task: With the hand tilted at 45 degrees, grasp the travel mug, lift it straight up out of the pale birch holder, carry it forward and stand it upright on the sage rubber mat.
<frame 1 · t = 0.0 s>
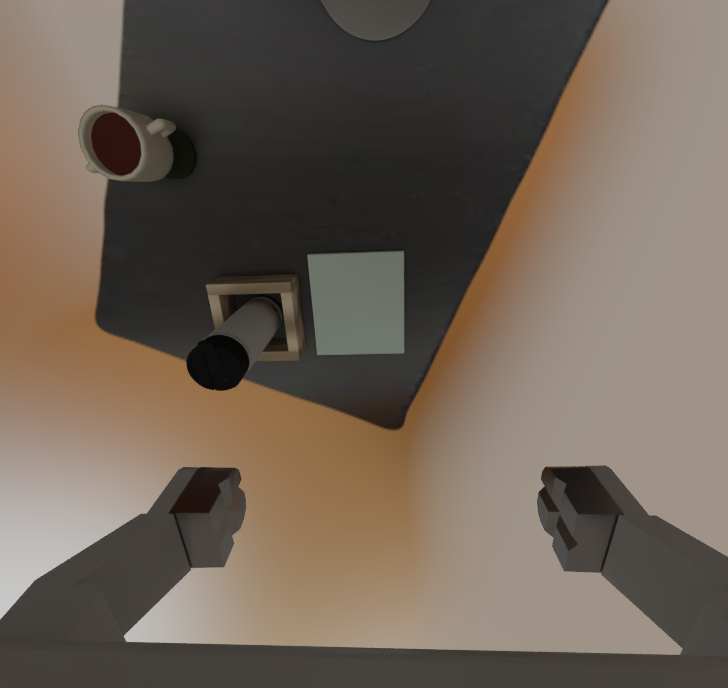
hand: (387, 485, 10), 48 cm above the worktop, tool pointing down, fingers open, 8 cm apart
character mug: (175, 153, 51), on the worktop
travel mug: (264, 312, 60), resting in birch holder
birch holder: (264, 313, 59), on the worktop
sage mat: (358, 304, 58), on the worktop
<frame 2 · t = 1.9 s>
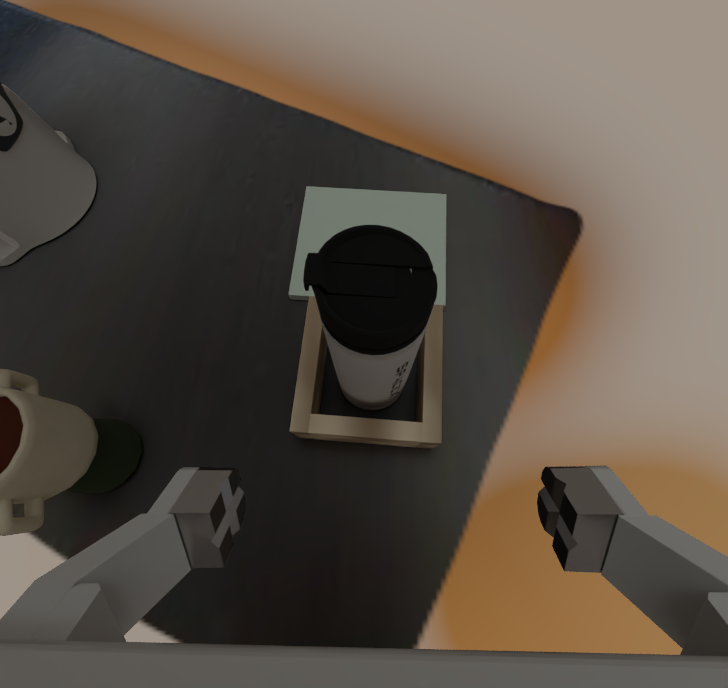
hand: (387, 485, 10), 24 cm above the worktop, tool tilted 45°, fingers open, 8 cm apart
character mug: (111, 456, 34), on the worktop
travel mug: (370, 380, 36), resting in birch holder
birch holder: (370, 379, 36), on the worktop
sage mat: (371, 247, 41), on the worktop
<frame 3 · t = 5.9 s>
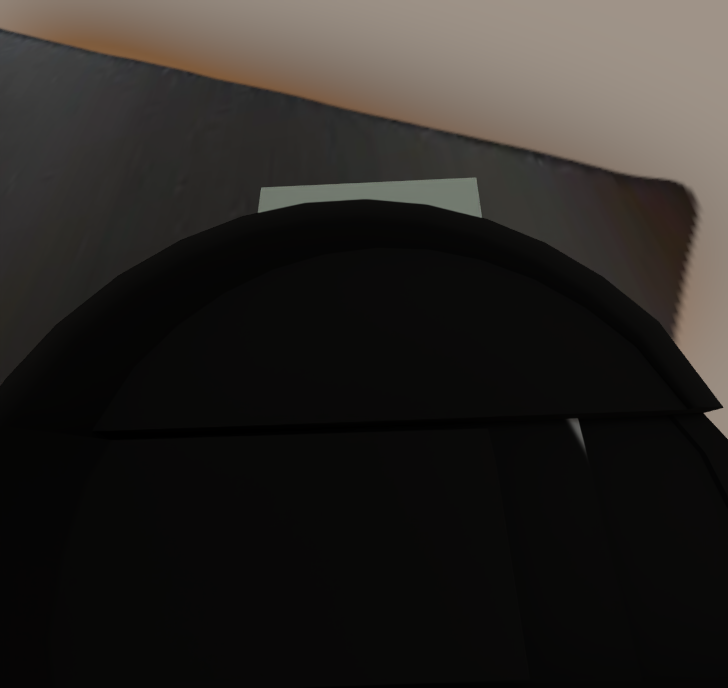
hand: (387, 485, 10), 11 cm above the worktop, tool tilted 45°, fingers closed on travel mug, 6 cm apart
travel mug: (387, 503, 21), resting in birch holder, touching gripper
sage mat: (368, 270, 26), on the worktop
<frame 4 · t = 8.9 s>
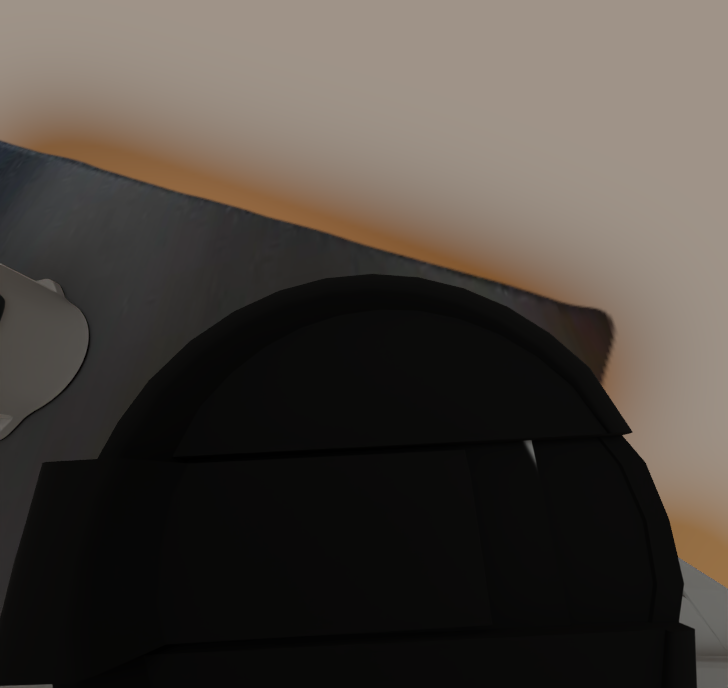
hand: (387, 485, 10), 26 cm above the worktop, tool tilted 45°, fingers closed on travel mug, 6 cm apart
travel mug: (385, 504, 22), point 13 cm above the worktop, touching gripper
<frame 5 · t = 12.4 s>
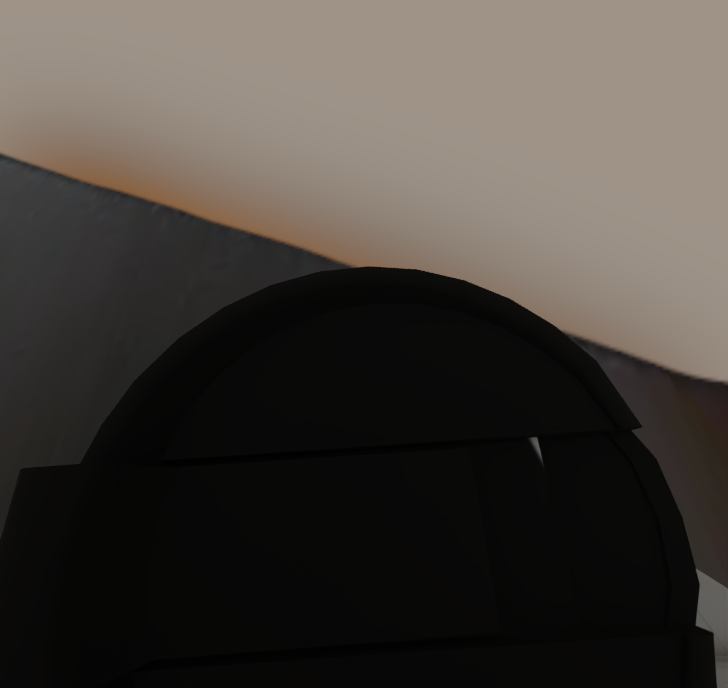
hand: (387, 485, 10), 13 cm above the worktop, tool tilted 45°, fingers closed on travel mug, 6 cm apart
travel mug: (385, 504, 22), point 1 cm above the worktop, touching gripper, sage mat
when the fingers open (13 cm above the worktop, at t = 13.0 s): travel mug stays where it is, resting on sage mat.
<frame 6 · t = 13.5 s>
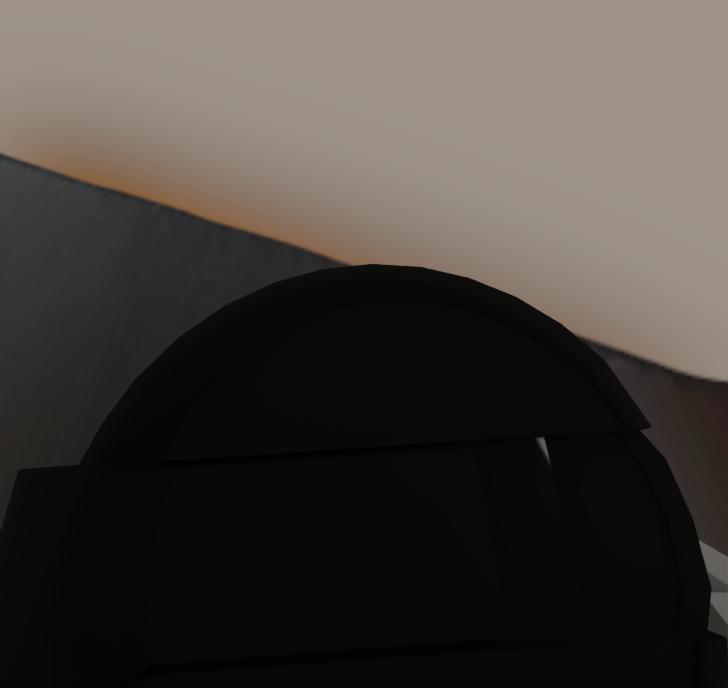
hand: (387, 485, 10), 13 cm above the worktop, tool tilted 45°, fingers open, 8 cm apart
travel mug: (387, 505, 22), point 1 cm above the worktop, touching sage mat
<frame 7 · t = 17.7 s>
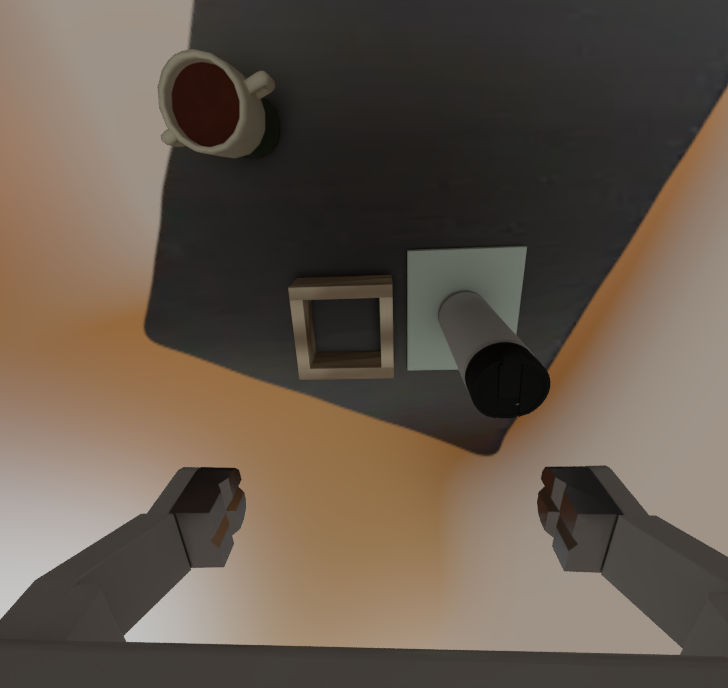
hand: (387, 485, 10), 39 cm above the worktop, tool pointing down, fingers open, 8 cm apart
character mug: (253, 127, 42), on the worktop
travel mug: (462, 311, 48), point 1 cm above the worktop, touching sage mat
birch holder: (346, 321, 50), on the worktop
sage mat: (461, 310, 49), on the worktop
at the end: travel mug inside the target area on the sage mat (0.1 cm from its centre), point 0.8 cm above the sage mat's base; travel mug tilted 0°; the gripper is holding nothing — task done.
